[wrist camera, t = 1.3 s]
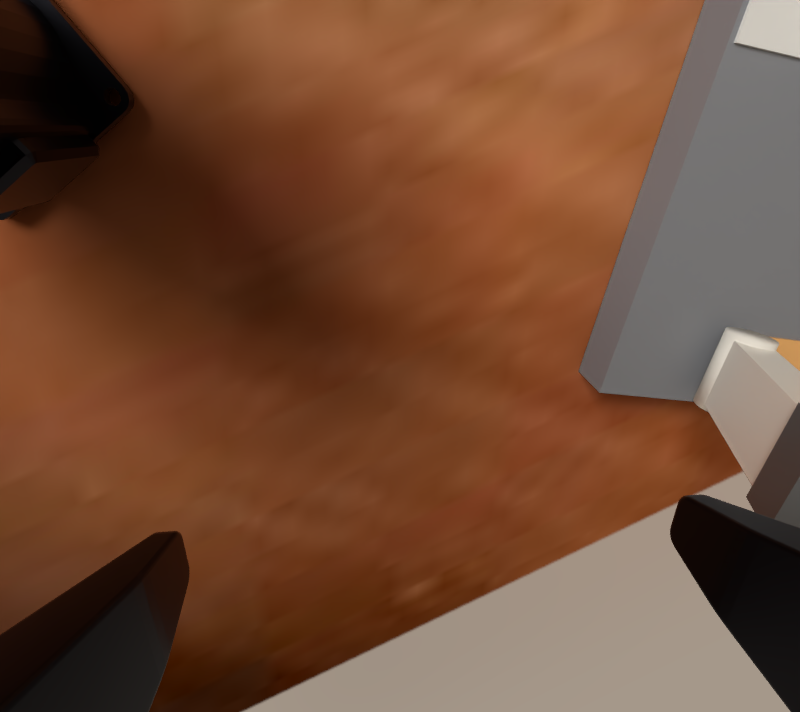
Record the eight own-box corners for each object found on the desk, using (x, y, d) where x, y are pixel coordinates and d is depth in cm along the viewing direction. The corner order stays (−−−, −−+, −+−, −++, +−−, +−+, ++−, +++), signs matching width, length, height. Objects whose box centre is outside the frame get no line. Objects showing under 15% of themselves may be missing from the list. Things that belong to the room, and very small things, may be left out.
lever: (688, 392, 21) (765, 532, 13) (719, 323, 20) (826, 430, 12) (734, 404, 21) (843, 556, 13) (768, 334, 20) (914, 453, 11)
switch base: (578, 371, 23) (600, 393, 21) (727, -66, 16) (779, -92, 14) (749, 388, 24) (784, 411, 22) (946, -5, 18) (1019, -21, 16)
